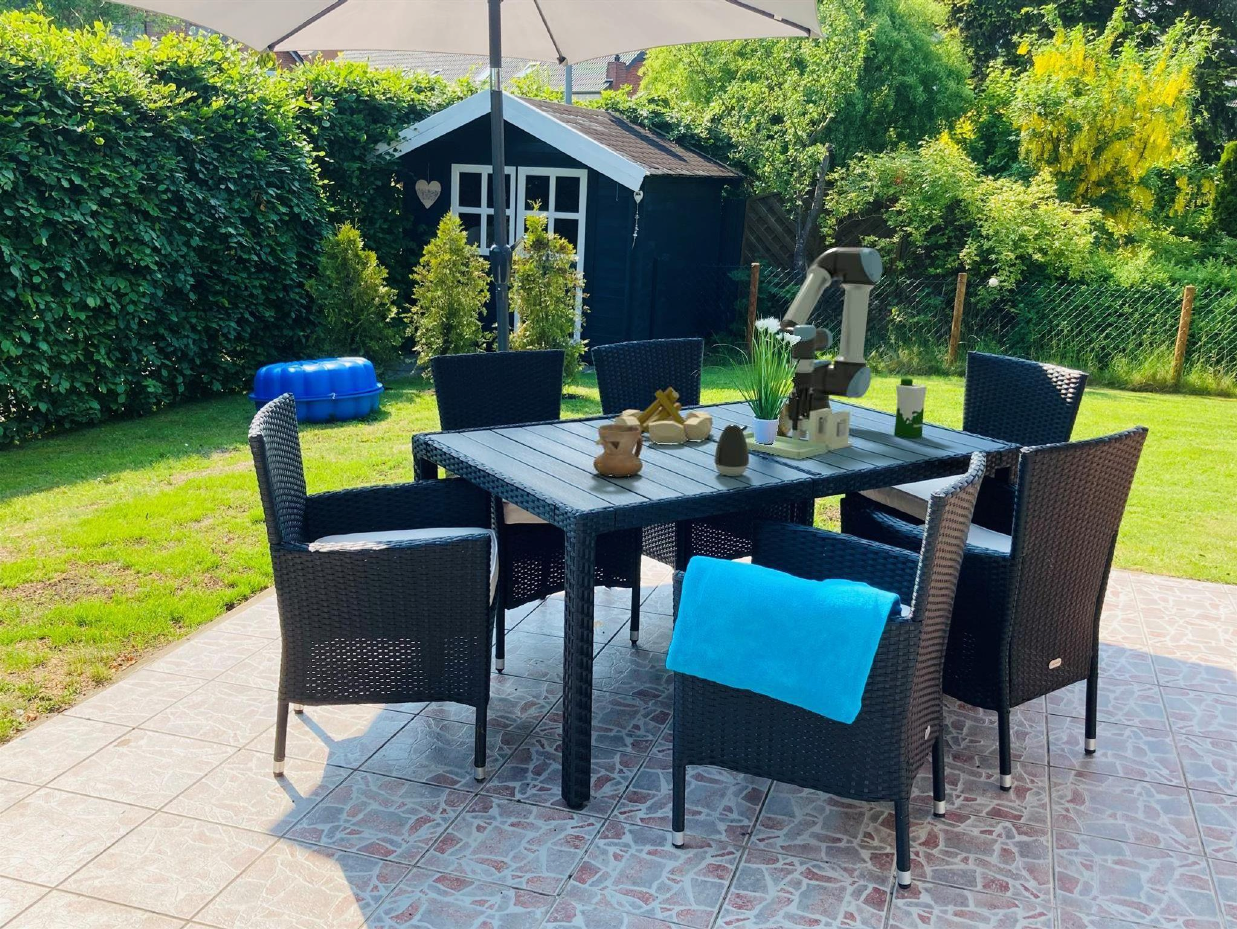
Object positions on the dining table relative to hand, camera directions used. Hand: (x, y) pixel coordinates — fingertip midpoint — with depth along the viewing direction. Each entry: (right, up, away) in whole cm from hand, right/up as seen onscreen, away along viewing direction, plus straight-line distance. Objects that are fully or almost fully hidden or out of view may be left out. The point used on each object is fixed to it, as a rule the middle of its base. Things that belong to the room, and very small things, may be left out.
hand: (799, 438), depth 372 cm
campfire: (-47, +1, +5) cm, 47 cm away
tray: (-11, -4, -14) cm, 18 cm away
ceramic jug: (-62, -12, -53) cm, 82 cm away
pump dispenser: (-29, -12, -52) cm, 60 cm away
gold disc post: (+2, -1, -2) cm, 3 cm away
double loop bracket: (+8, -3, -8) cm, 12 cm away
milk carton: (+40, +1, +10) cm, 41 cm away
